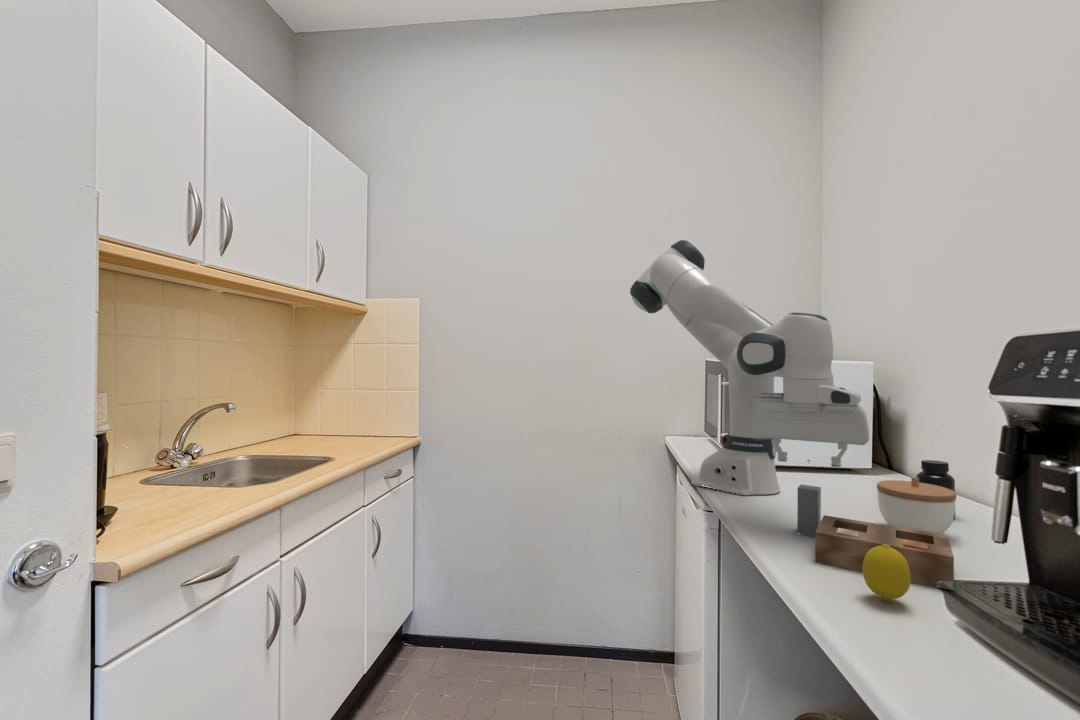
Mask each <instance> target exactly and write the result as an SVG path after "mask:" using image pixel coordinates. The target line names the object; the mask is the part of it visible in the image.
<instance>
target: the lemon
mask: <svg viewBox="0 0 1080 720" xmlns="http://www.w3.org/2000/svg"><path fill="white" fill-rule="evenodd" d="M862 576H863V579H864V583H865V584H866V586H867V587H868V588H869V589H870V591H871V592H872V593H874V594H875V595H877V596H878V597H880V598H881V600H882V601H884V602H887V603H888V602H890V601H892V600H895V599H896V600H897V599H899V598H902V597H903V596H905V594H907V592H908V591H909V589H910V586H911V582H910V570H909V566H908V563H907V561H906V559H905V558H904V557H903V555H902V554H901V553H900V552H898V551H897V550H895V549H894V548H891V547H890V546H889V545H888V544H883V545H881V546H876V547H873V548H871V549H870V550H869V551H868V552H867V553H866V555H865V558H864V561H863V572H862Z"/></svg>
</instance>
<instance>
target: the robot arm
mask: <svg viewBox="0 0 1080 720" xmlns="http://www.w3.org/2000/svg"><path fill="white" fill-rule="evenodd" d="M705 262H706V259H705V257H704V255H703V253H702V251H701V249H700V248H699V247H698V246H697V245H696V244H694V243H692V242H690V241H688V240H684V239H681V240H679V241H677V242H675V243H673V244H672V245H671V246H670V248H669V249H667V250H666V251H665V252H663V253H662V254H661V255H660V256H659V257H657V258H656V259H655V260H654V261H653V262H652V263H651V264H650V266H649V267H648V268H647V269H645V271H644V272H643V273H642V275H641V276H640V277H639V278H638V279H636V280H635V281H634V283H633V284H632V285H631V287H630V288H629V289H630V290H629V291H630V296H631V299H632V302H633V303H634V305H636V306H637V307H636V308H638V309H640V310H641V311H643V312H646V313H648V314H656V313H658V312H659V311H661V310H662V309H663V308H664V306H667V308H668V309H669V311H670V312H671V314H673V316H674V318H675V319H676V320H677V322H679V323H680V324H681V325H682V326H683V327H684V328H685V329H686V331H688V333H689V334H691V336H693V337H694V339H696V340H697V341H698V342H699V343H700V344H701V345H702V346H703V347H704V349H706V350H707V351H708V352H709V353H710V354H712V355H713V356H714V358H716V359H717V360H718V361H719V362H720V363H721V364H722V365H723V366H725V368H726V369H727V372H728V373H727V375H728V381H727V382H728V399H729V403H728V404H729V411H728V412H729V416H728V417H729V428H728V429H729V432H728V433H726V434H724V435H723V436H722V437H721V438H720V443H721V446H722V447H721V448H719V449H718V450H716V451H715V452H714V453H712V454H711V455H709V456H708V457H706V458H705V459H704V460H703V461H702V463H701V465H700V469H699V474H698V475H695V476H692V478H691V479H690V483H691V485H692V486H695V487H700V486H702V485H704V486H708V487H711V488H715V489H719V490H723V491H722V492H724V491H726V492H725V493H729V492H731V494H734V493H736V494H735V495H739V494H740V496H753V495H773V494H778V493H780V492H781V489H780V485H779V482H778V477H777V471H776V463H775V459H776V455H777V461H778V462H785V463H786V462H787V461H788V451H783V449H782V448H781V446H780V444H782V440H791V441H803V442H815V443H816V442H817V443H828V444H829V443H830V444H837V450H840V451H839V453H838V454H837V455H836V456H833V455H832V456H831V457H830V461H831V463H830V466H831V467H832V468H834V467H835V468H841V467H842V457H843V456H844V455H845V453H846V451H847V450H848V445H855V446H856V445H857V446H865V445H866V444H867V443H868V442H870V429H869V422H868V417H867V413H866V411H865V409H864V408H863V407H862V406H861V405H859V404H860V403H861V399H862V397H861V394H860V393H858V392H856V391H853V390H849V389H846V388H845V387H841V386H840V387H838V386H836V385H834V374H833V373H832V371H833V370H832V362H833V359H834V341H833V333H832V328H831V324H830V321H829V320H828V318H826V317H825V316H823V315H821V314H814V313H805V312H790V313H787V314H785V315H784V316H783V318H781V320H779V321H778V322H776V323H774V324H773V323H771V322H769V321H768V320H767V319H766V318H764V317H762V316H761V315H759V314H758V313H757V312H755V311H754V310H753V309H751V308H750V307H748V306H747V305H745V303H742V302H741V301H740V300H739V299H737V298H736V297H735V296H734V295H733V294H732V293H730V292H729V291H728V290H726V289H725V288H724V287H723V286H722V285H721V284H720V283H719V282H717V281H716V280H715V279H714V278H713V277H712V276H710V275H709V274H708V273H707V272H706V271H704V269H705ZM776 377H778V378H782V391H783V392H775V378H776ZM719 490H718V491H719Z"/></svg>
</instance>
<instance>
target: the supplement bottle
mask: <svg viewBox="0 0 1080 720" xmlns="http://www.w3.org/2000/svg"><path fill="white" fill-rule="evenodd" d="M920 462H921V463H920V464H921V465H920V469H921V470H922V471H920V472H918V473H917V474H916V478H919V483H926V484H932V485H936V486H941V487H944V488H948V489H950V490H953V491H954V492H955V493H956V485H955V484H956V482H955V481H956V480H955V479H954V477H953V476H952V475H950V473H948V472H950V468H949V462H947V461H941V460H933V459H932V460H931V459H927V460H926V459H924V460H921V461H920ZM955 517H956V513H955V514H954V518H955ZM954 518H953V519H954Z"/></svg>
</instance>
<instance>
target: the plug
mask: <svg viewBox="0 0 1080 720" xmlns="http://www.w3.org/2000/svg"><path fill="white" fill-rule="evenodd" d="M821 493H822V488H821V486H815V485H806V484H799V486H798V487H797V523H796V524H797V525H796V526H797V528H796V529H797V533H800V534H799V535H802V534H804V535H803V536H807V535H810V536H809V537H812V536H814V537H815V532H816V530H817V528H818V526H819V524H820V522H821V520H822V515H821V514H822V513H821V511H822V510H821V509H822V508H821V507H822V505H821V504H822V502H821V498H822V495H821ZM797 533H796V534H797Z"/></svg>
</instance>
